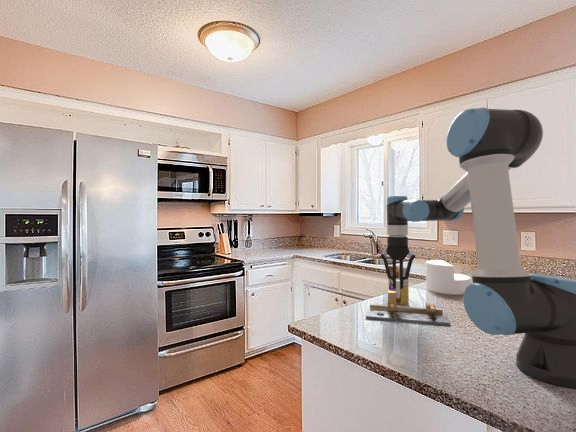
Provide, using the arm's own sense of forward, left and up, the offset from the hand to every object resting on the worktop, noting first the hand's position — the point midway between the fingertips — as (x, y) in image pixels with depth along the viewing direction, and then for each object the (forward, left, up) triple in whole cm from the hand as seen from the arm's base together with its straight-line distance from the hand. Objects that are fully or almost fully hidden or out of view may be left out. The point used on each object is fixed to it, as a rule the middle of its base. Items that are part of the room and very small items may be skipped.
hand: (397, 297), depth 126 cm
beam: (-3, -3, -6) cm, 7 cm away
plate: (-7, -3, -6) cm, 9 cm away
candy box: (+16, -1, -6) cm, 17 cm away
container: (+46, -25, -6) cm, 52 cm away
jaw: (-3, +2, -6) cm, 7 cm away
